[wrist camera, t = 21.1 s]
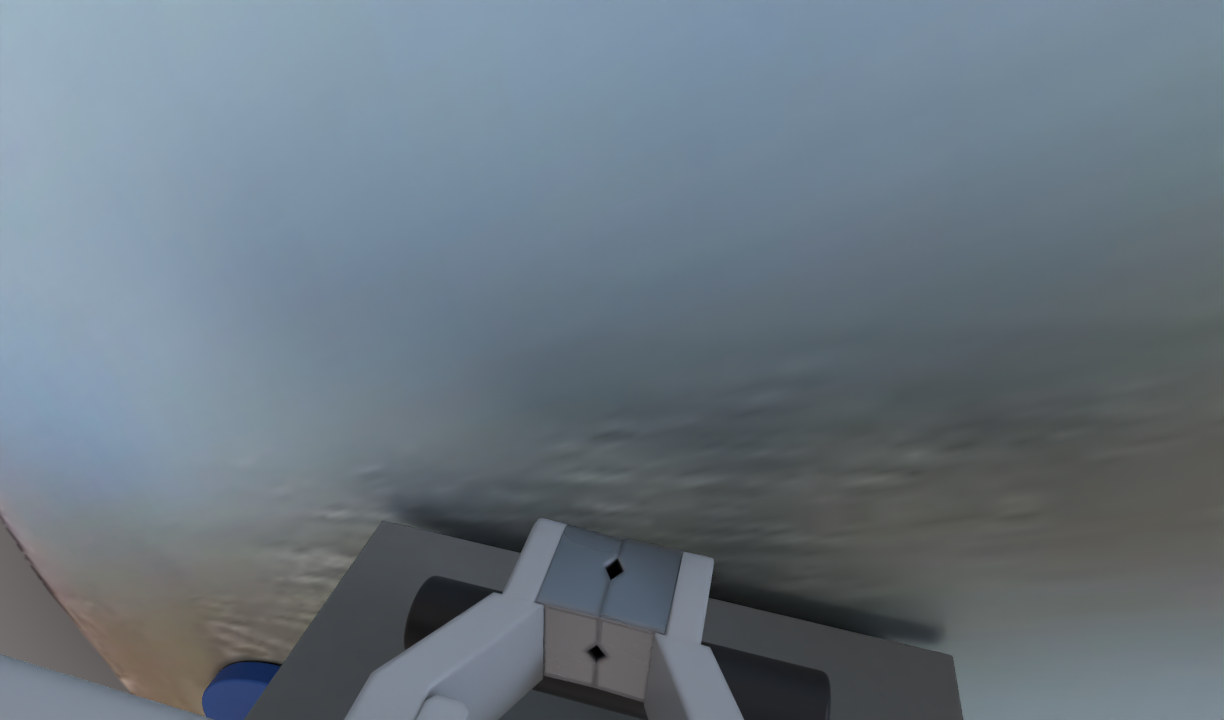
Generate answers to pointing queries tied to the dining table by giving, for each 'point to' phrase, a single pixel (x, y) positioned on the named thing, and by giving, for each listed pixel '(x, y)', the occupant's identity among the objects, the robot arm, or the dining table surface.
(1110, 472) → the dining table surface
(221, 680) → the lid
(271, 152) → the dining table surface
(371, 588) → the grey drawer
